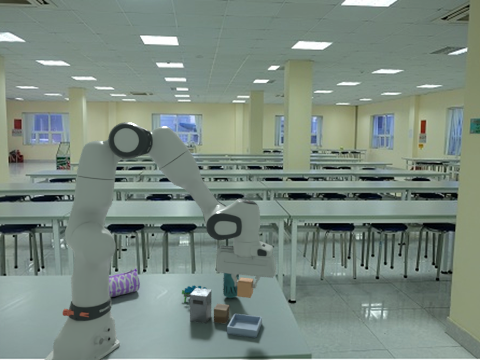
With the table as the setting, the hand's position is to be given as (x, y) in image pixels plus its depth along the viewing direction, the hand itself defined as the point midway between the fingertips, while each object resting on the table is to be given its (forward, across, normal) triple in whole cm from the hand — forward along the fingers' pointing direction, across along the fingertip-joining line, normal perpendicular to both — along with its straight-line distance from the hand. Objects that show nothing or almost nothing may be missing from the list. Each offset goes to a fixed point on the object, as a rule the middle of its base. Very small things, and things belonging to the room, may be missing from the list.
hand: (245, 286), depth 134 cm
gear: (+15, -24, +17) cm, 33 cm away
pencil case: (+15, -58, +13) cm, 61 cm away
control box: (+15, -17, +3) cm, 23 cm away
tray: (+15, 0, 0) cm, 15 cm away
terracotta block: (+3, 0, 0) cm, 3 cm away
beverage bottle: (+15, -11, +23) cm, 30 cm away
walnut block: (+15, -10, +4) cm, 18 cm away
